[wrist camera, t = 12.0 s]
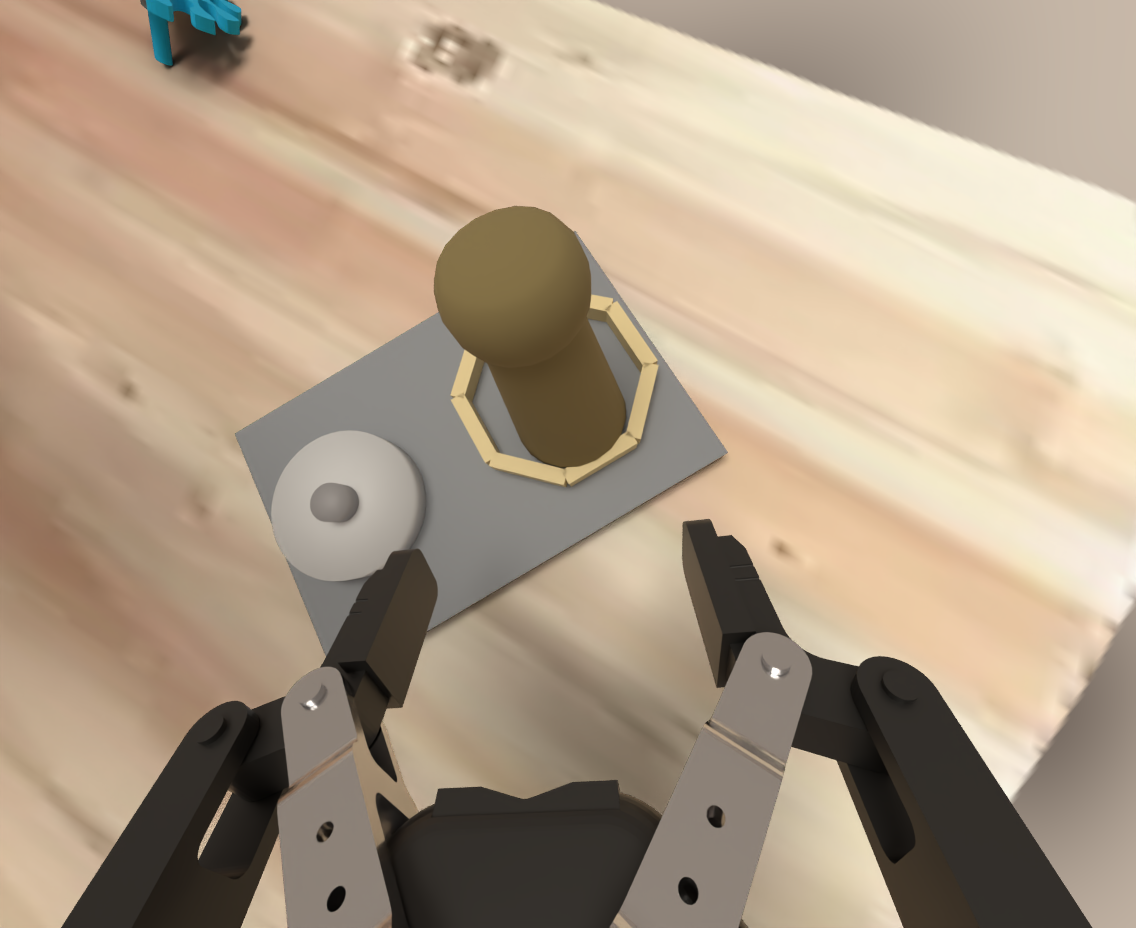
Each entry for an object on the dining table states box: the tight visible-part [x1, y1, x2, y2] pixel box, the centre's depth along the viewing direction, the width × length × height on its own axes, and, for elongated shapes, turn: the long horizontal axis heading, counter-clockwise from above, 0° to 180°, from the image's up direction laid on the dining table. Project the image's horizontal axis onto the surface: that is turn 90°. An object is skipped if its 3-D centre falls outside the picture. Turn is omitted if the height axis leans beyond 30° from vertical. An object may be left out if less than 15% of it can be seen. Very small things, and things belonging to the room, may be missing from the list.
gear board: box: [235, 231, 728, 656], centre depth 23 cm, size 24×16×4 cm, turn 120°
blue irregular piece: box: [140, 0, 241, 66], centre depth 30 cm, size 11×6×10 cm
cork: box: [434, 206, 626, 468], centre depth 17 cm, size 6×6×11 cm
